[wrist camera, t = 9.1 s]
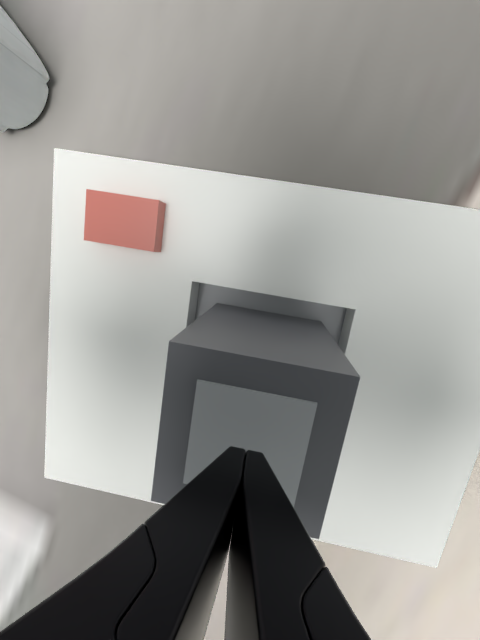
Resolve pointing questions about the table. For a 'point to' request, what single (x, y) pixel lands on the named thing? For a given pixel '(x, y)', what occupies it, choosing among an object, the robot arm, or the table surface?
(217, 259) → the socket plate
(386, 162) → the table surface
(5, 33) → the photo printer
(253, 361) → the plug
